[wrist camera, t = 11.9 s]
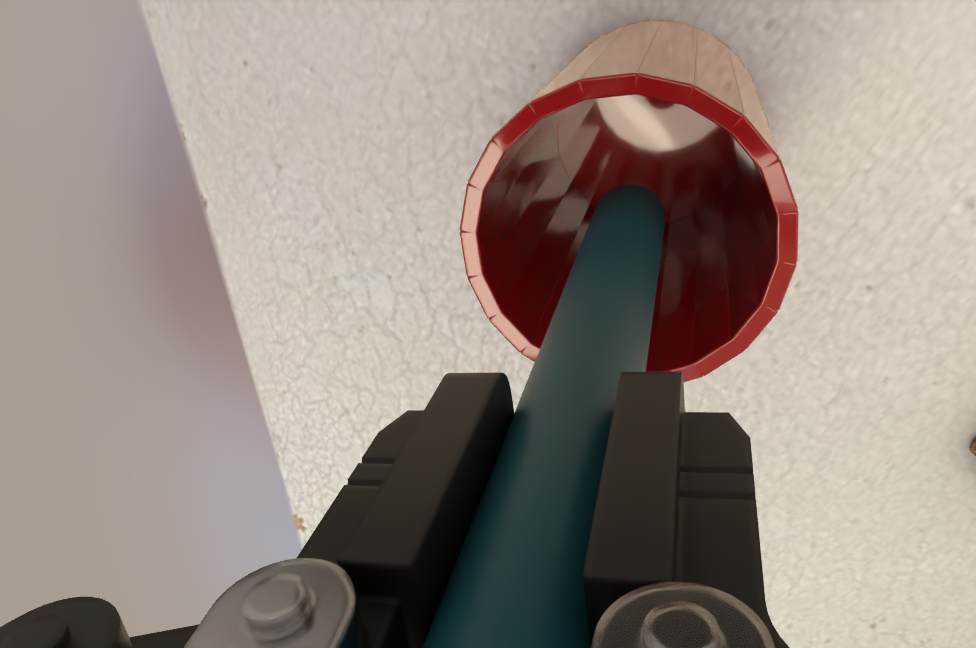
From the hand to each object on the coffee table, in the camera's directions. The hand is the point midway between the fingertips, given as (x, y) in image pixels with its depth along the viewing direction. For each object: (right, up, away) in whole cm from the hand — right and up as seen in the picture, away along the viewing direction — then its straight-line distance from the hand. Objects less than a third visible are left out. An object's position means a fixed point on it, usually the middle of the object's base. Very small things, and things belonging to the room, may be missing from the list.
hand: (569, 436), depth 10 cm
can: (+4, +8, +16) cm, 18 cm away
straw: (+2, +4, +8) cm, 9 cm away
